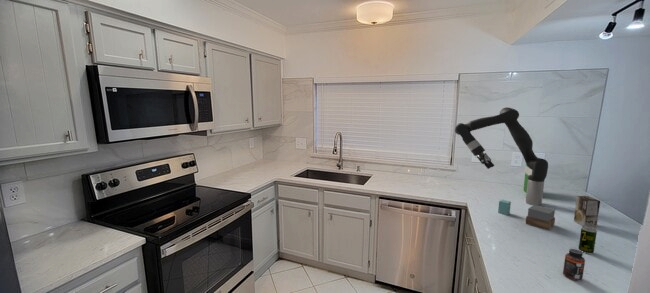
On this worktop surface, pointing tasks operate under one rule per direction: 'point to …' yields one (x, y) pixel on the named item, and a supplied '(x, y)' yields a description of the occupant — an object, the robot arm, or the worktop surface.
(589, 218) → the coffee box
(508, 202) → the teal block
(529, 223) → the tower bottom
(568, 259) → the supplement bottle
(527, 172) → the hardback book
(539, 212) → the tower top
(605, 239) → the worktop surface
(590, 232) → the beer can
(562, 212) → the worktop surface
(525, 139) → the robot arm
